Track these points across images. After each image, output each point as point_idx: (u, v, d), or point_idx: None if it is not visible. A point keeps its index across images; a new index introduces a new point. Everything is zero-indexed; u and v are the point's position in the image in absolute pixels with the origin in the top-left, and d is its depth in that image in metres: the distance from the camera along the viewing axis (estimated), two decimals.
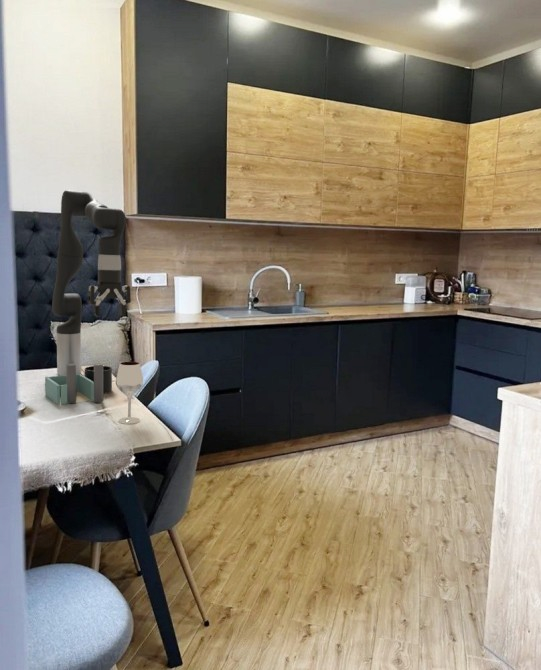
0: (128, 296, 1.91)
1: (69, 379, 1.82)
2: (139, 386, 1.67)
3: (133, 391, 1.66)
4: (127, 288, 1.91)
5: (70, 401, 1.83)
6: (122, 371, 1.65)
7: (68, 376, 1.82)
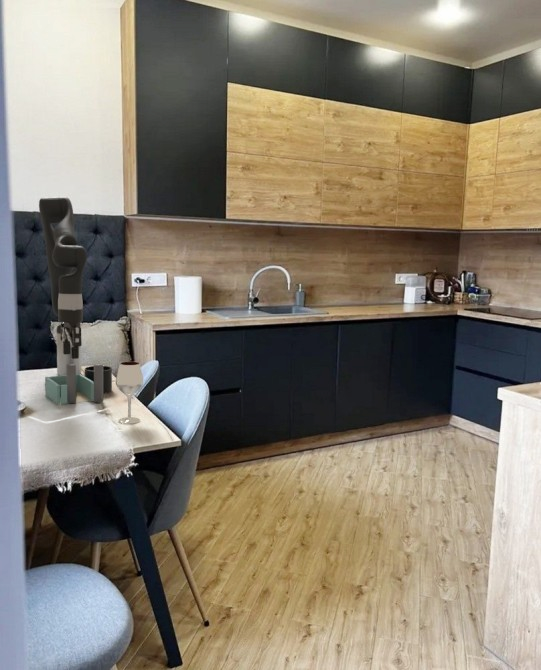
0: None
1: (69, 379, 1.82)
2: (139, 386, 1.67)
3: (133, 391, 1.66)
4: None
5: (70, 401, 1.83)
6: (122, 371, 1.65)
7: (68, 376, 1.82)
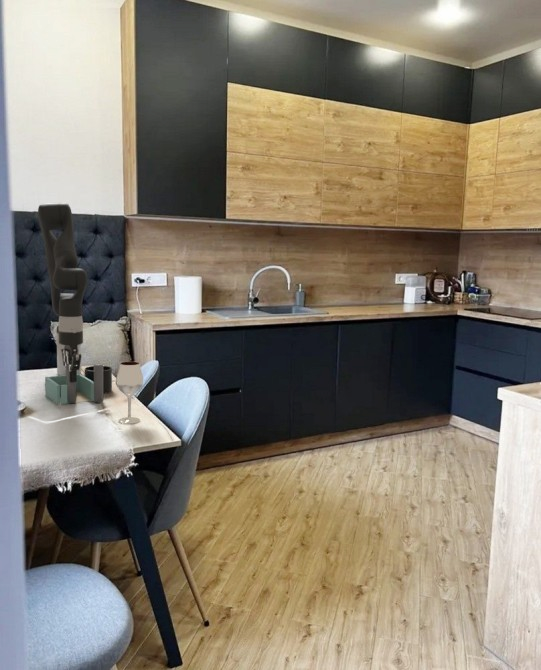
0: None
1: None
2: (139, 386, 1.67)
3: (133, 391, 1.66)
4: None
5: (70, 401, 1.83)
6: (122, 371, 1.65)
7: (68, 376, 1.82)
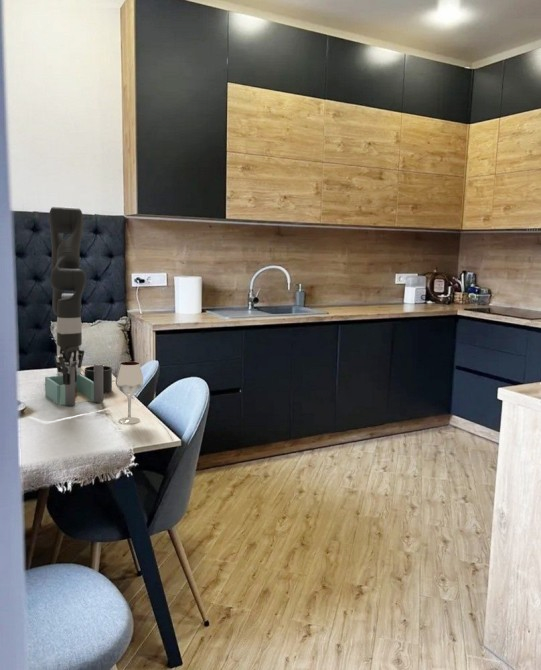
0: (81, 360, 1.84)
1: None
2: (139, 386, 1.67)
3: (133, 391, 1.66)
4: (82, 352, 1.84)
5: (66, 403, 1.81)
6: (122, 371, 1.65)
7: None
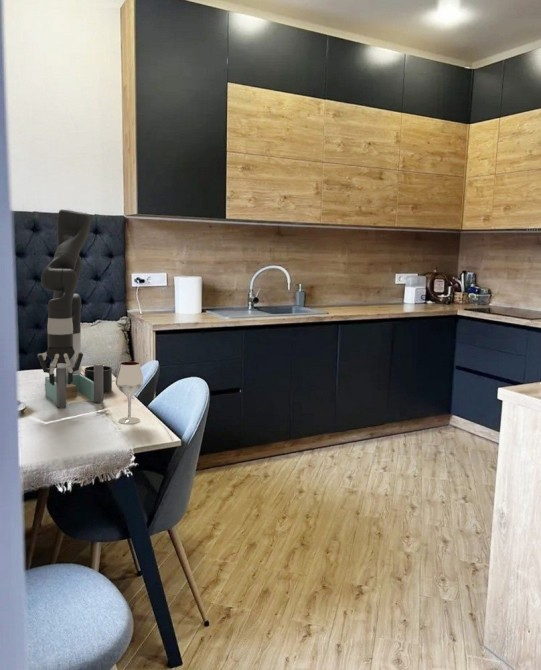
0: (77, 363, 1.78)
1: None
2: (139, 386, 1.67)
3: (133, 391, 1.66)
4: (79, 355, 1.78)
5: None
6: (122, 371, 1.65)
7: None
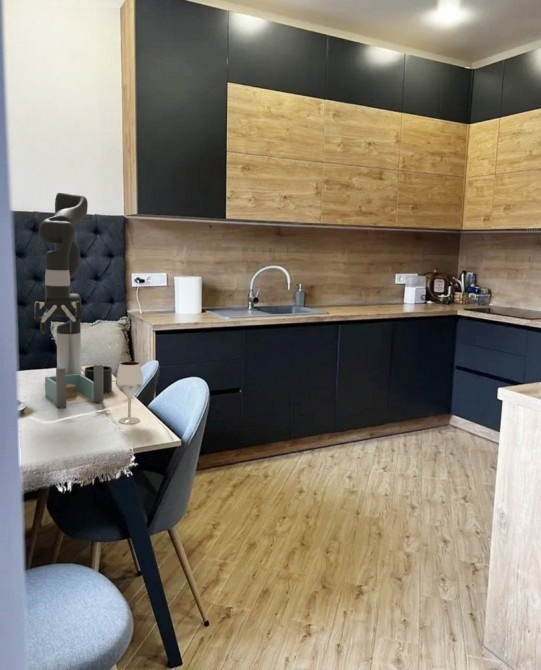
0: (78, 312, 1.83)
1: None
2: (139, 386, 1.67)
3: (133, 391, 1.66)
4: (77, 304, 1.82)
5: None
6: (122, 371, 1.65)
7: None
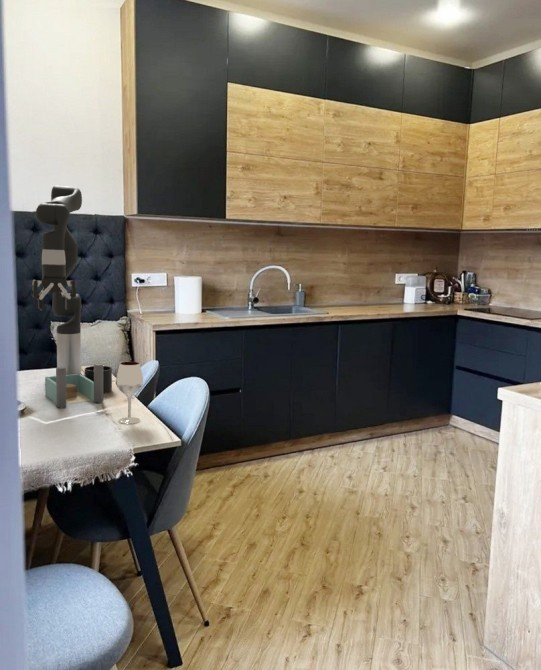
0: (73, 290, 1.95)
1: None
2: (139, 386, 1.67)
3: (133, 391, 1.66)
4: (72, 282, 1.94)
5: None
6: (122, 371, 1.65)
7: None
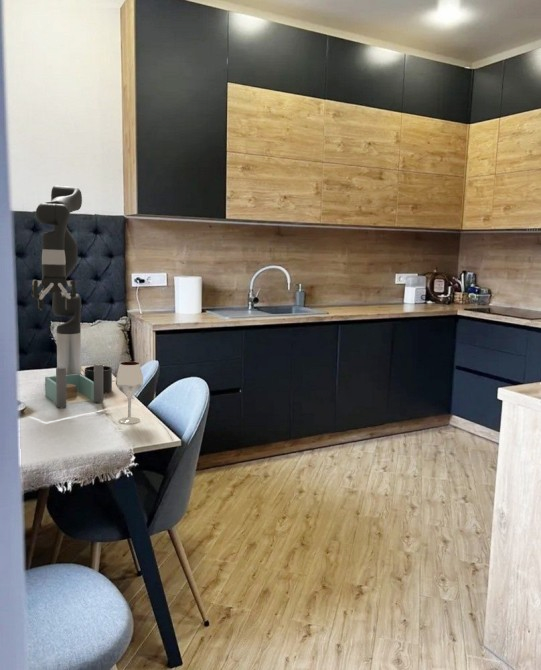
0: (73, 290, 1.95)
1: None
2: (139, 386, 1.67)
3: (133, 391, 1.66)
4: (72, 282, 1.94)
5: None
6: (122, 371, 1.65)
7: None
